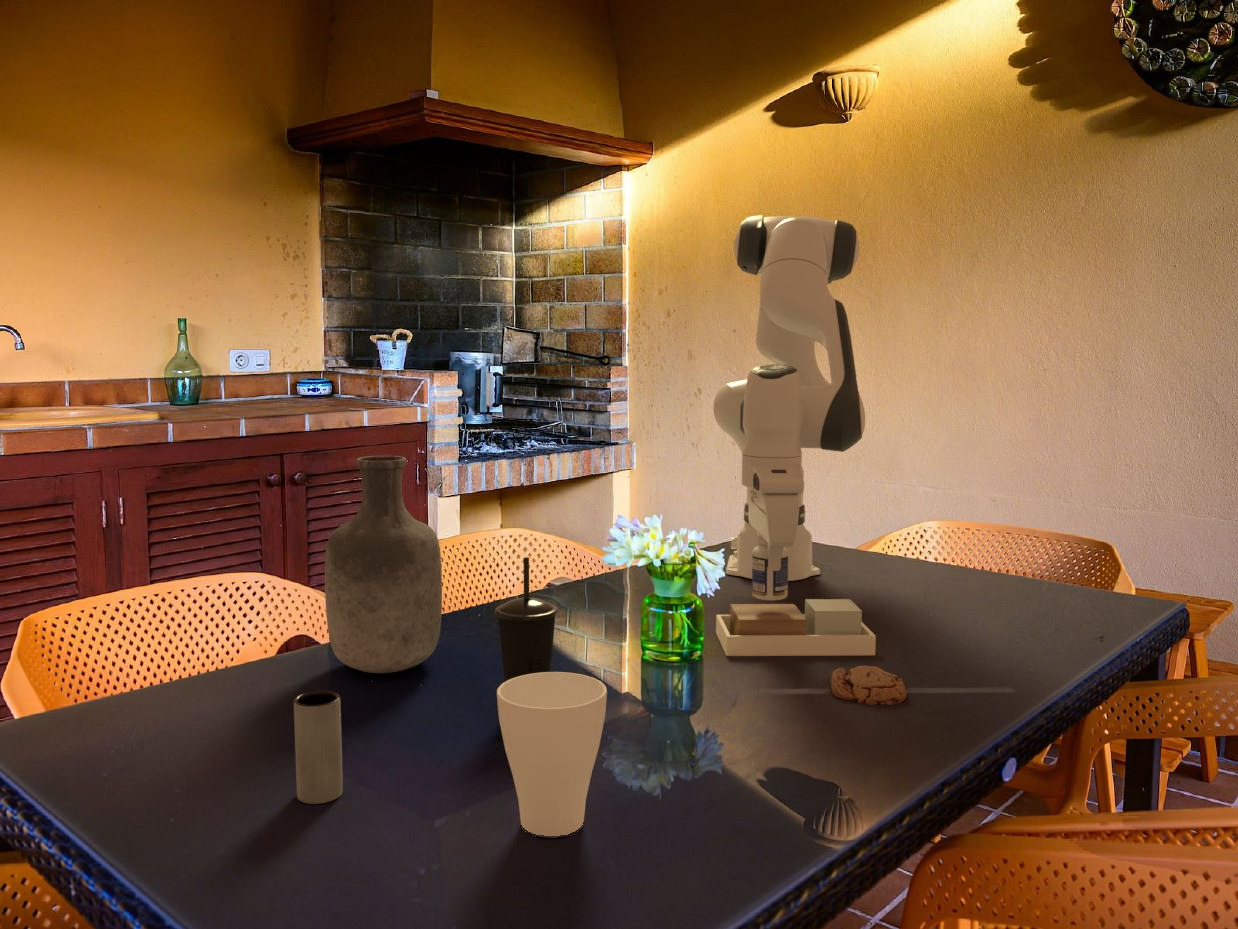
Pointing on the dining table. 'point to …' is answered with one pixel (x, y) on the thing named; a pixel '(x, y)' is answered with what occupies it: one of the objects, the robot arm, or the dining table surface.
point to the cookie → (868, 686)
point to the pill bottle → (768, 574)
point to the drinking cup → (526, 633)
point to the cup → (552, 745)
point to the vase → (383, 578)
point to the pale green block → (832, 617)
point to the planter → (318, 746)
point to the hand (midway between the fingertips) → (769, 564)
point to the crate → (794, 643)
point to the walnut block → (766, 619)
